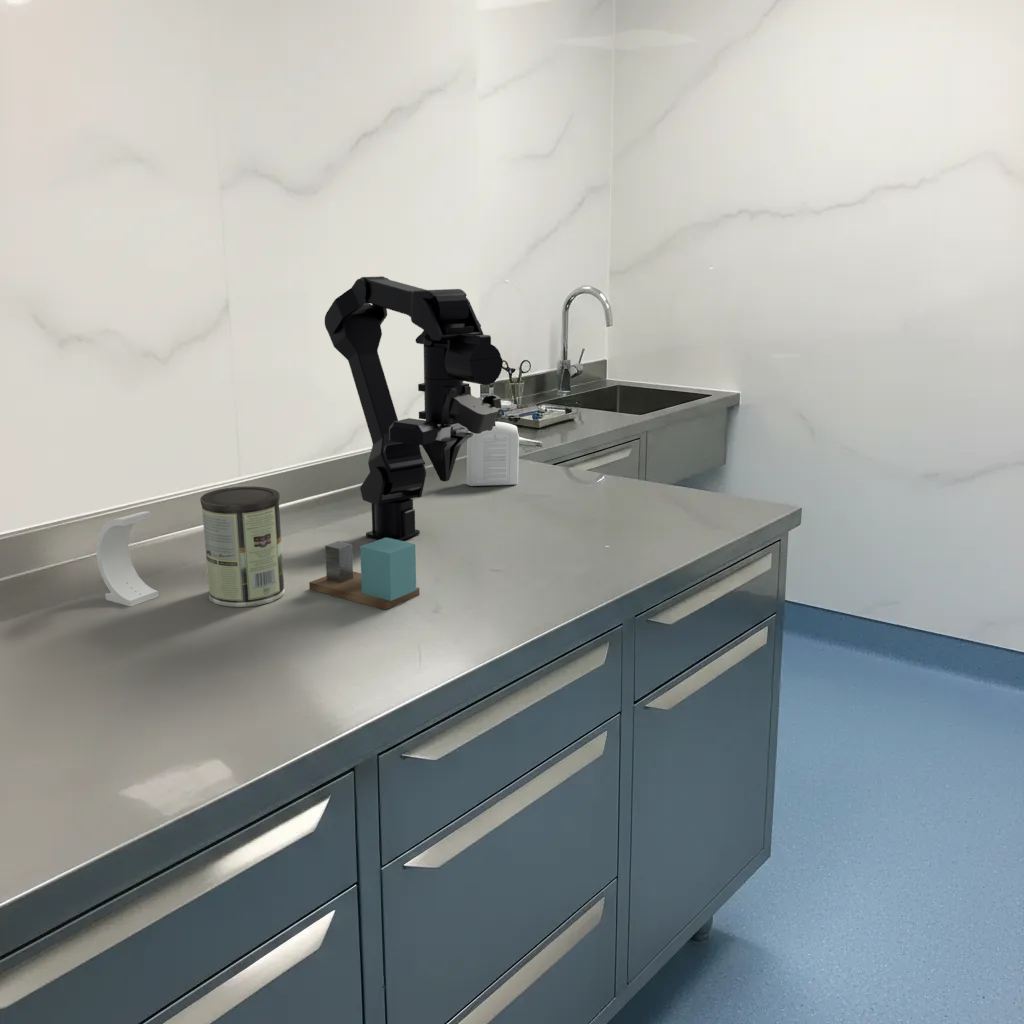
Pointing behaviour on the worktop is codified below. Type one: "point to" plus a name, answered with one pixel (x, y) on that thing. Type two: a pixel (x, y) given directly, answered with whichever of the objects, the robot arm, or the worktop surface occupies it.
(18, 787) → the worktop surface
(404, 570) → the turquoise upright block
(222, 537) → the coffee can
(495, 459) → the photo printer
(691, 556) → the worktop surface
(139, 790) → the worktop surface
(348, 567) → the dark metal post
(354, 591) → the walnut strip
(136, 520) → the headphone stand
